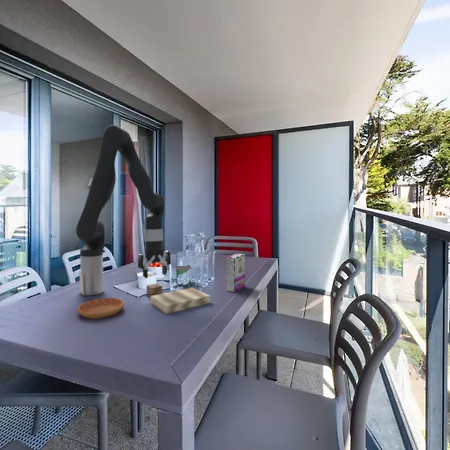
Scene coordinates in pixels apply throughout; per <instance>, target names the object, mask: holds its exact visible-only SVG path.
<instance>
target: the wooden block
mask: <svg viewBox="0 0 450 450" xmlns="http://www.w3.org/2000/svg"><path fill="white" fill-rule="evenodd" d="M149 299H150V305H152V306H153V307H155V308H157V309H158V310H160V311H162V313H165V314H166V315H167V314H171V313H175V312H179V311H180V312H181V311H183V310H188V309H191V308H195V307H199V306H203V305H207V304H210V303H211V295H210V294H207V293H205V292H202V291H200V290H199V289H196V288H194V287H190V288H189V287H188V288H183V289H180V290H173V291H170V292H165V293H162V294H159V295H154V296H150V298H149Z"/></svg>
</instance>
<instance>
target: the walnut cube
mask: <svg viewBox="0 0 450 450" xmlns="http://www.w3.org/2000/svg"><path fill="white" fill-rule="evenodd" d="M159 294H163V285H161V284H159V283H152V284H147V285H146V297H148V298H149V299H150V296H154V295H159Z"/></svg>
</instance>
